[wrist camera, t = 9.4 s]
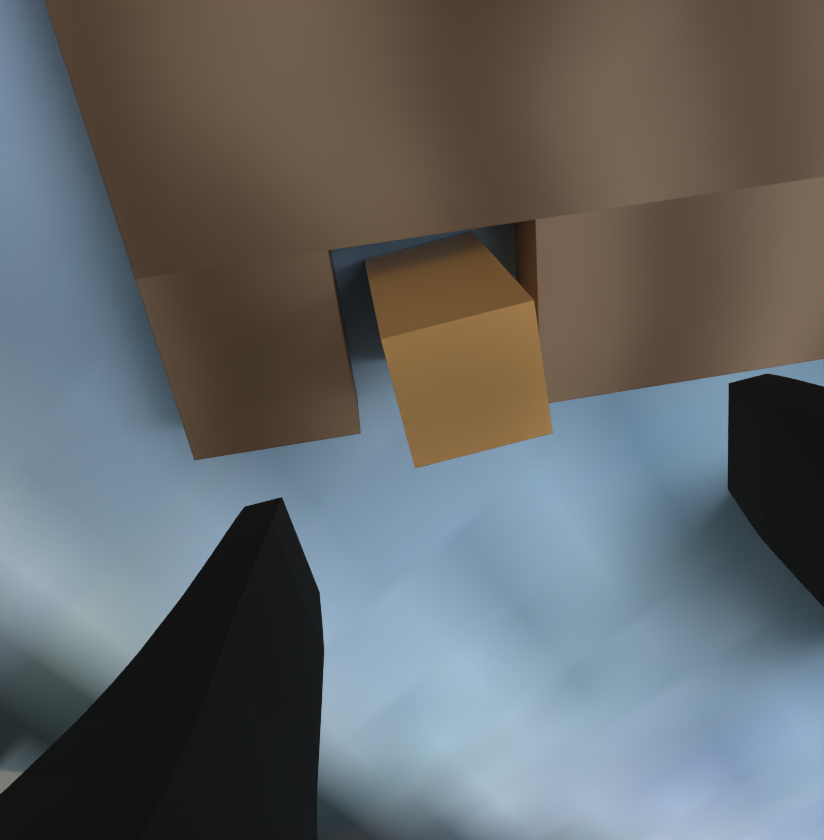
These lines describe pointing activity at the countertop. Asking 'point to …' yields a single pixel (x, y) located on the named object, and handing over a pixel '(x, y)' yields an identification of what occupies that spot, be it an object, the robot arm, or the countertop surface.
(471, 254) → the block
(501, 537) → the countertop surface
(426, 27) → the notched board
